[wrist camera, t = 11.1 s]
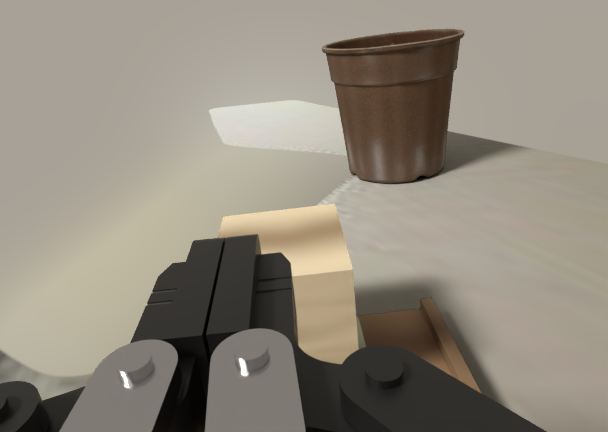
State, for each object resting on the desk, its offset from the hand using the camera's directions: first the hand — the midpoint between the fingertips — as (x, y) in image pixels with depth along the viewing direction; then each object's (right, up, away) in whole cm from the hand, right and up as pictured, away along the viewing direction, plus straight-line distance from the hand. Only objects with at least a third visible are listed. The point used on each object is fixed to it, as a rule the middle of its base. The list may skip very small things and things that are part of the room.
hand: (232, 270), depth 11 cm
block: (+1, -7, +18) cm, 19 cm away
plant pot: (+14, +7, +50) cm, 52 cm away
